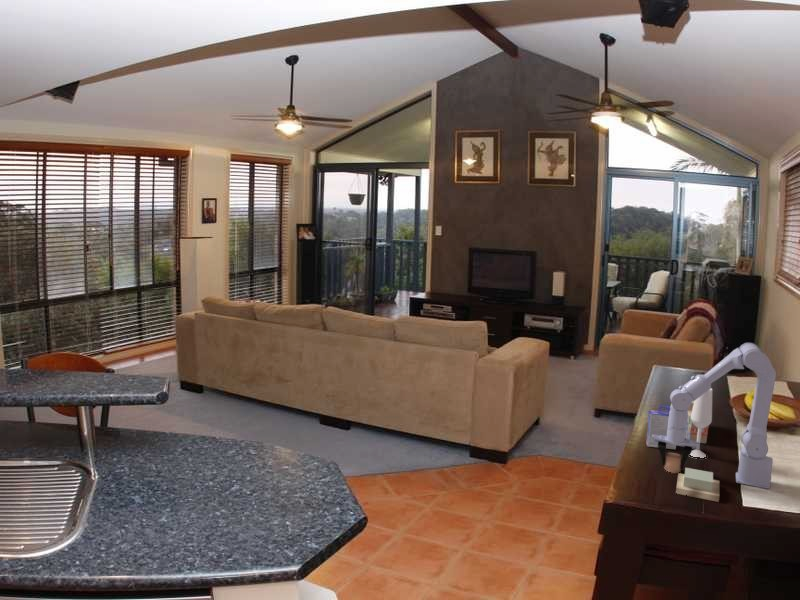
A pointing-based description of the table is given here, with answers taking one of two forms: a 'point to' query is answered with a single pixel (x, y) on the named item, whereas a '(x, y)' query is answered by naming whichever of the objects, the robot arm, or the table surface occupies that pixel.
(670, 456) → the terracotta cylinder
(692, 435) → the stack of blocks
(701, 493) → the birch slab
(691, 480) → the green block
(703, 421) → the champagne flute
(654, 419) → the ink cartridge box
